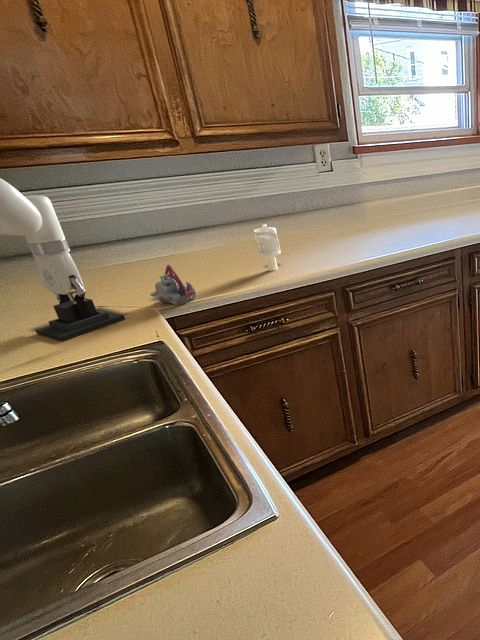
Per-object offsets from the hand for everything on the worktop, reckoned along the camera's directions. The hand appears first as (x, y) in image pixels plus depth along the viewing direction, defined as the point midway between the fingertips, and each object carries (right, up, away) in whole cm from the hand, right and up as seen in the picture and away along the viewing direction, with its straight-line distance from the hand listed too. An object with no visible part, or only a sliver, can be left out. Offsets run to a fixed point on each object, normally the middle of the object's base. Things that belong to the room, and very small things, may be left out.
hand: (77, 314), depth 137 cm
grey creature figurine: (+17, +5, +17) cm, 24 cm away
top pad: (0, 0, 0) cm, 1 cm away
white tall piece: (+35, +19, +43) cm, 59 cm away
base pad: (0, -3, +2) cm, 3 cm away
